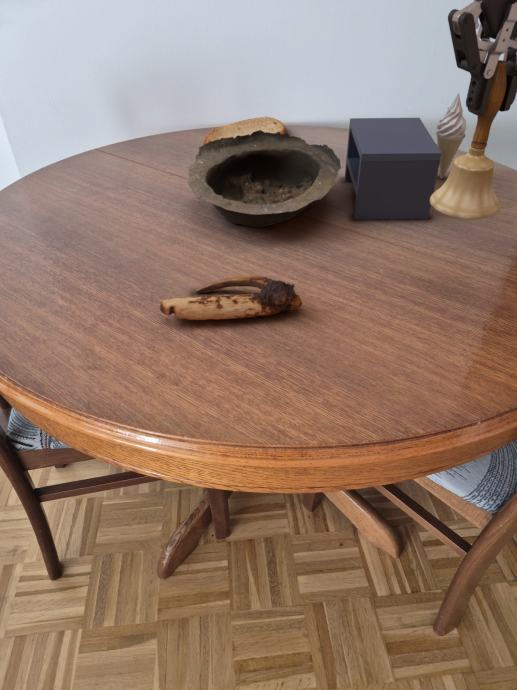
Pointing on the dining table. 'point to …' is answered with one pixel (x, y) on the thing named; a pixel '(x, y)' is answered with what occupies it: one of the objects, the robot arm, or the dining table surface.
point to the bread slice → (246, 128)
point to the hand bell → (474, 166)
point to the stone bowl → (262, 176)
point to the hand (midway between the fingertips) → (488, 110)
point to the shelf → (391, 168)
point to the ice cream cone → (450, 134)
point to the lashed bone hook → (235, 300)
